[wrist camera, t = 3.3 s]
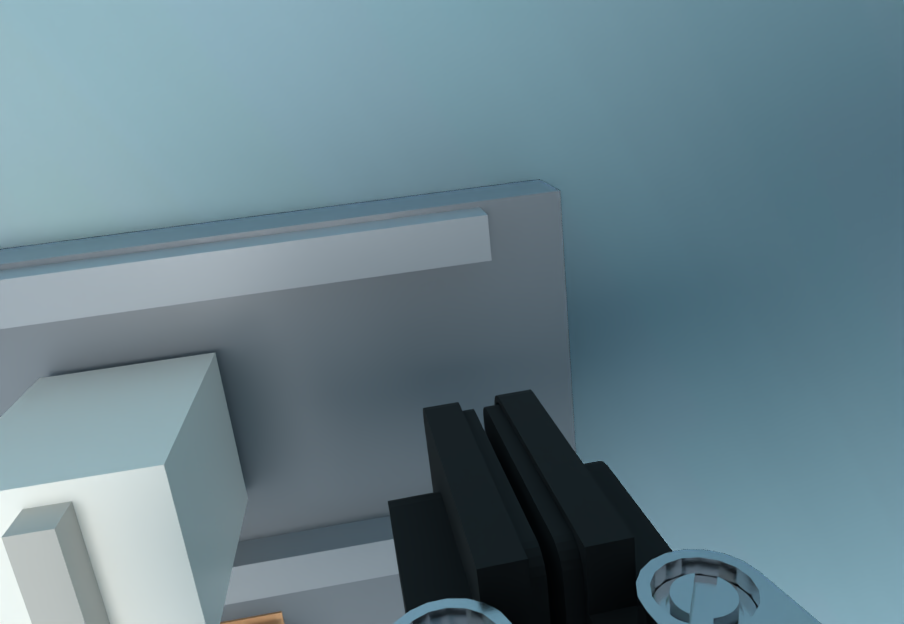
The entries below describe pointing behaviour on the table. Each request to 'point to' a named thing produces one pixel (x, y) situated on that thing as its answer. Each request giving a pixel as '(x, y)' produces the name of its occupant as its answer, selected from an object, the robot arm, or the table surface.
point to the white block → (120, 497)
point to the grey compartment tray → (316, 360)
